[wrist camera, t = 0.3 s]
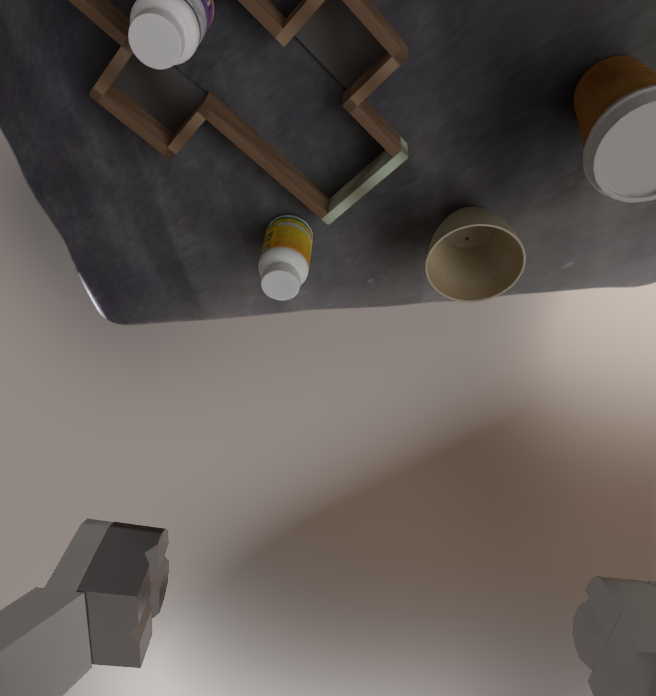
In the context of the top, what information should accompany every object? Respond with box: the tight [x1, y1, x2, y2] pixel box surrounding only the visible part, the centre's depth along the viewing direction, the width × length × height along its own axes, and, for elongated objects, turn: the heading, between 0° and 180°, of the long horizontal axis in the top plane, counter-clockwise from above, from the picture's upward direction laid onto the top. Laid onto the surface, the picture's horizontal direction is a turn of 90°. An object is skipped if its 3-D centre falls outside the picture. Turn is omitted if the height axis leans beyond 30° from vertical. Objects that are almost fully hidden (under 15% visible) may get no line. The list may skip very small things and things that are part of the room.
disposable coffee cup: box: [573, 56, 656, 202], centre depth 50 cm, size 10×10×12 cm
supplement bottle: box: [258, 215, 313, 300], centre depth 64 cm, size 5×5×10 cm
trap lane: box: [69, 0, 409, 225], centre depth 53 cm, size 23×30×3 cm
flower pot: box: [425, 207, 526, 302], centre depth 62 cm, size 10×10×7 cm
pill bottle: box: [128, 0, 214, 69], centre depth 47 cm, size 5×5×10 cm
